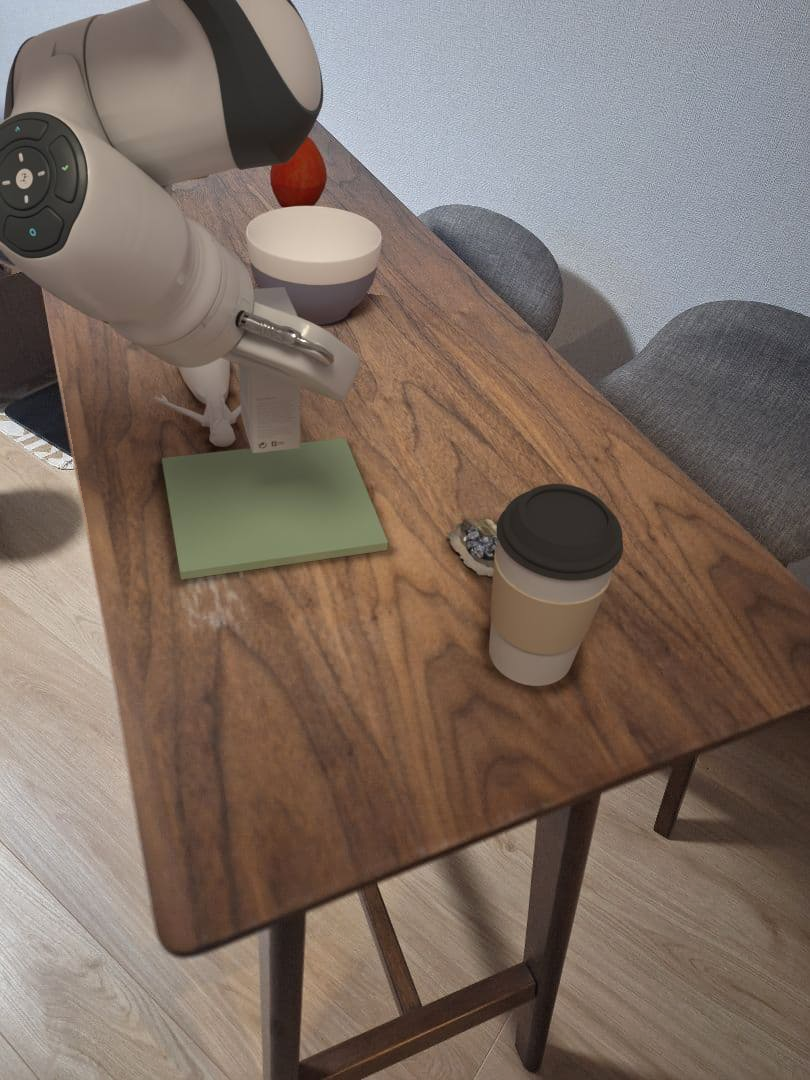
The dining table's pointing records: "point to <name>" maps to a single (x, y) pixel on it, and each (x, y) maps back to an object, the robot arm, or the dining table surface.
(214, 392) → the woman figurine
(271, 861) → the dining table surface
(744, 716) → the dining table surface
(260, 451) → the cosmetic box
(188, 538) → the mat
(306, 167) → the apple
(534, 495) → the coffee cup
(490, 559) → the blueberries
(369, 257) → the bowl
